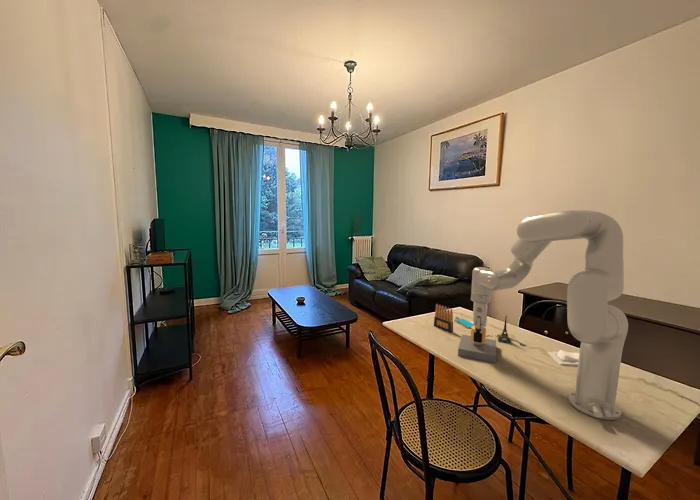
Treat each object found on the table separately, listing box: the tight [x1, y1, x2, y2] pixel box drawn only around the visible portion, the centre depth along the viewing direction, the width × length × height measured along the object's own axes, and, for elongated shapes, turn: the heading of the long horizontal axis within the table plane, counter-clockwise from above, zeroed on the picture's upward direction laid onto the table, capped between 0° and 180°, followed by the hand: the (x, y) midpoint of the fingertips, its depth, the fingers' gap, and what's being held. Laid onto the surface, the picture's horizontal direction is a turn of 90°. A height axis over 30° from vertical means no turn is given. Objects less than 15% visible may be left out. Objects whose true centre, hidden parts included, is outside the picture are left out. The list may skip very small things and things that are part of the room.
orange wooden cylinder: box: [470, 326, 487, 343], centre depth 129 cm, size 6×6×5 cm
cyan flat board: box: [453, 316, 474, 329], centre depth 162 cm, size 20×12×2 cm, turn 18°
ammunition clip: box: [433, 303, 454, 334], centre depth 154 cm, size 11×2×12 cm, turn 33°
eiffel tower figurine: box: [485, 315, 528, 347], centre depth 140 cm, size 15×10×13 cm
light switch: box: [547, 349, 580, 368], centre depth 123 cm, size 11×4×13 cm
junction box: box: [457, 334, 497, 364], centre depth 130 cm, size 16×14×7 cm
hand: (478, 338), depth 130 cm, fingers closed on orange wooden cylinder, 5 cm apart
